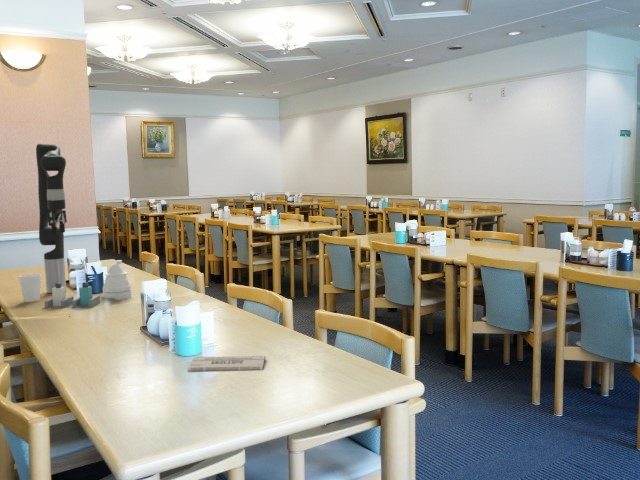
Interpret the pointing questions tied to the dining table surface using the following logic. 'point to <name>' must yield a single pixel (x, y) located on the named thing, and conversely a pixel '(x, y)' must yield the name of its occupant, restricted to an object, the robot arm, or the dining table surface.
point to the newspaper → (226, 363)
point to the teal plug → (85, 294)
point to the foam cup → (30, 286)
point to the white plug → (58, 294)
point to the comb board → (72, 303)
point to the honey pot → (116, 283)
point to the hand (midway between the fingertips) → (58, 233)
